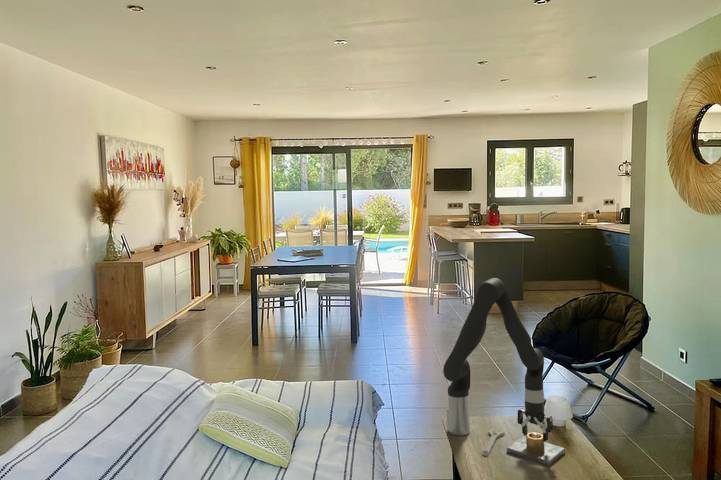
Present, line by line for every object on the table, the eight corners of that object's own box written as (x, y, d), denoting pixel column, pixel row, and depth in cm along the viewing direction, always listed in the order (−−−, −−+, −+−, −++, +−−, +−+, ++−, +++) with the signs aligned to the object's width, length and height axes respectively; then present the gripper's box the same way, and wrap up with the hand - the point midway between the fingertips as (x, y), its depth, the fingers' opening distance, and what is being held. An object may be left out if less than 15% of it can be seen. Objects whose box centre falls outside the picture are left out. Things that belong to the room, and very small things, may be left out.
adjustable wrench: (488, 457, 214) (488, 453, 214) (472, 454, 217) (472, 450, 217) (506, 433, 235) (505, 429, 235) (491, 430, 239) (491, 426, 238)
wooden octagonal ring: (524, 448, 215) (523, 436, 215) (531, 442, 220) (531, 430, 219) (538, 452, 211) (538, 440, 210) (546, 447, 215) (546, 435, 215)
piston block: (506, 452, 217) (506, 433, 216) (523, 440, 227) (523, 422, 226) (548, 466, 204) (548, 445, 203) (564, 452, 214) (564, 433, 213)
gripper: (513, 397, 216) (514, 436, 217) (546, 405, 206) (547, 446, 207) (522, 392, 221) (523, 430, 223) (555, 400, 211) (556, 439, 212)
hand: (535, 437), depth 215 cm, fingers open, 8 cm apart
